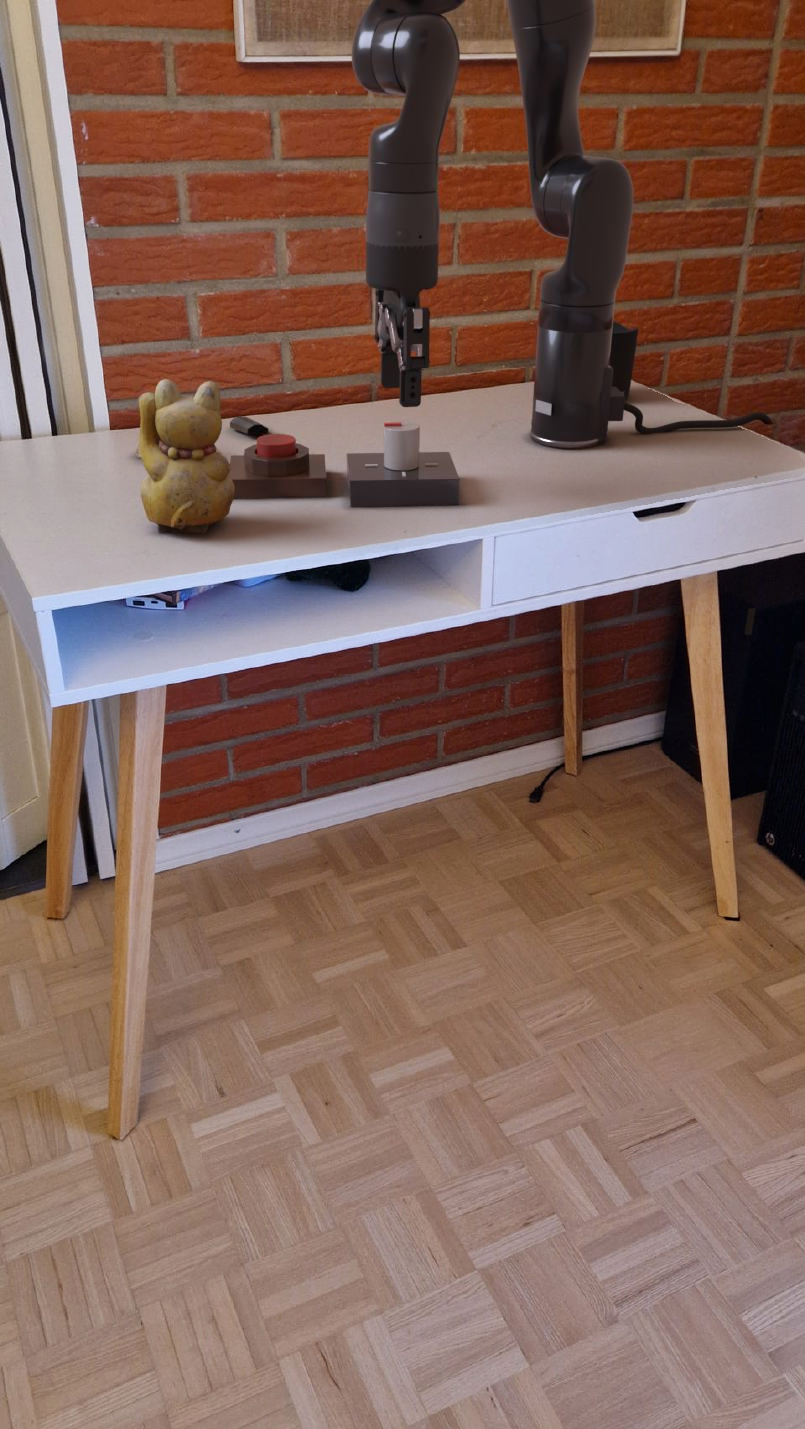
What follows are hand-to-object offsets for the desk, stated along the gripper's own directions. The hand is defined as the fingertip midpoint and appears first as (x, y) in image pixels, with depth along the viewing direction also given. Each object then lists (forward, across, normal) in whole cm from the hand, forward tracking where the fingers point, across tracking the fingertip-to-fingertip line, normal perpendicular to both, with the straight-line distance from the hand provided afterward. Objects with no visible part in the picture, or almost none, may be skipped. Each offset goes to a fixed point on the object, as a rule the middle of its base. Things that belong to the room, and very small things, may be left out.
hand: (400, 396), depth 129 cm
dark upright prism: (+10, +34, -39) cm, 53 cm away
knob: (+8, 0, 0) cm, 8 cm away
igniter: (+11, +5, +13) cm, 18 cm away
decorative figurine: (+11, -6, +24) cm, 27 cm away
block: (+11, +27, +13) cm, 32 cm away
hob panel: (+11, 0, 0) cm, 11 cm away
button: (+7, +5, +13) cm, 16 cm away
